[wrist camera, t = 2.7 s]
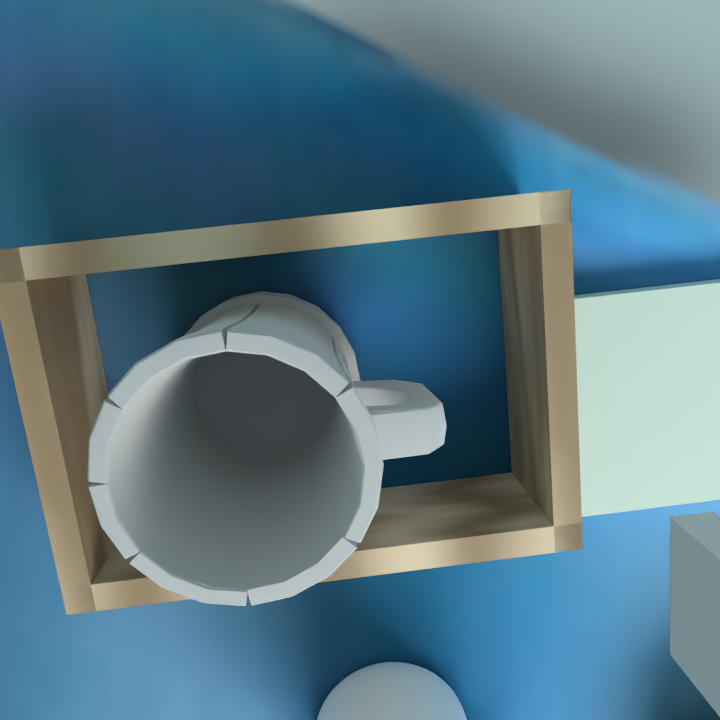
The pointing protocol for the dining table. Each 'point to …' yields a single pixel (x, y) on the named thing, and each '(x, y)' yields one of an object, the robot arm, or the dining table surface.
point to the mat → (648, 396)
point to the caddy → (396, 504)
